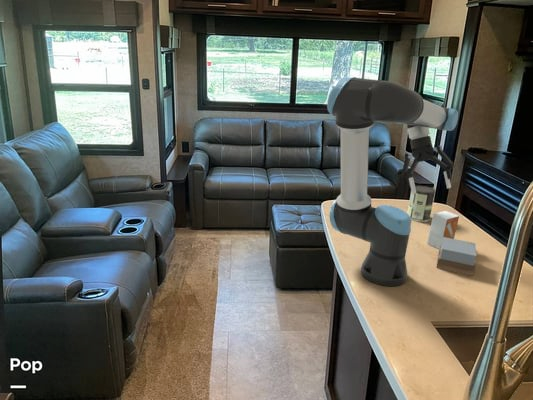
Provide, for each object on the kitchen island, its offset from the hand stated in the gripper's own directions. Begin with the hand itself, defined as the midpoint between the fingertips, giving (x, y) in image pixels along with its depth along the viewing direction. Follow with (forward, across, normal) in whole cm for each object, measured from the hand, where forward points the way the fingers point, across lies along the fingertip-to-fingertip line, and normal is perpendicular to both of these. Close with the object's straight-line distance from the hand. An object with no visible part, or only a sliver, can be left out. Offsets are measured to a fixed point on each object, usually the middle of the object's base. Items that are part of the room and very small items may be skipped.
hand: (431, 191), depth 163 cm
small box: (+22, +2, -3) cm, 23 cm away
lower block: (+27, -6, +9) cm, 30 cm away
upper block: (+24, -8, +10) cm, 27 cm away
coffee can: (+14, +18, -26) cm, 34 cm away
